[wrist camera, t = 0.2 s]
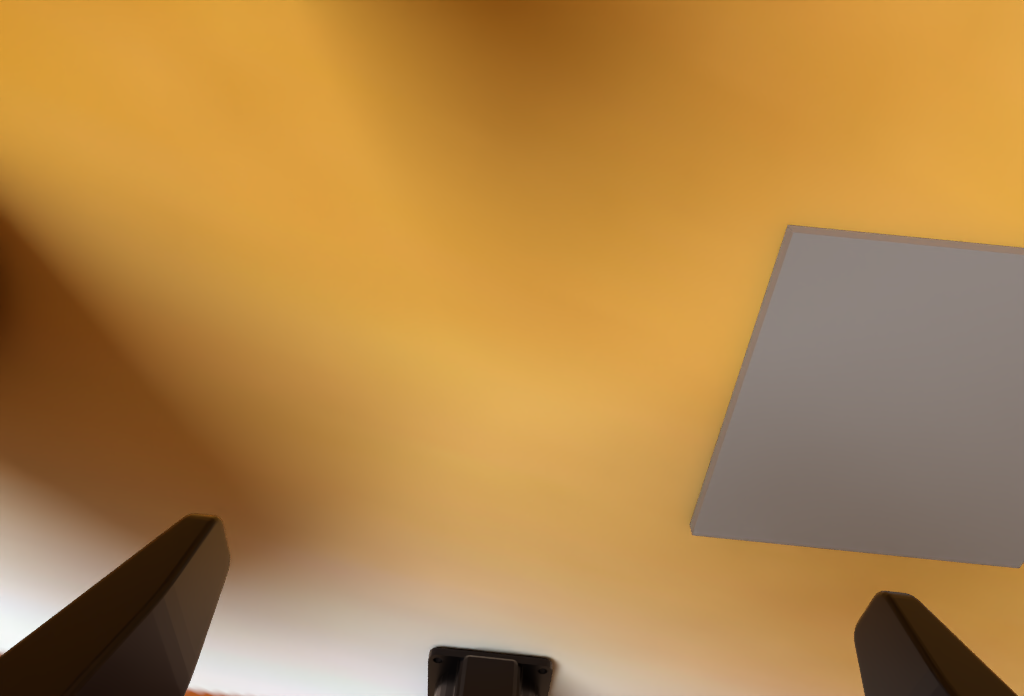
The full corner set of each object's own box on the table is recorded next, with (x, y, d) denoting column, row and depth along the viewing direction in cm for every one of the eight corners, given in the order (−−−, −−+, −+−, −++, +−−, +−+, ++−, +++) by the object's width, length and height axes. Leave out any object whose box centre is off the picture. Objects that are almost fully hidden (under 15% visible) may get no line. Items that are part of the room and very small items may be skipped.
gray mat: (1011, 556, 29) (1019, 568, 29) (689, 524, 29) (691, 535, 29) (1225, 267, 21) (1241, 276, 21) (787, 224, 22) (793, 232, 21)
